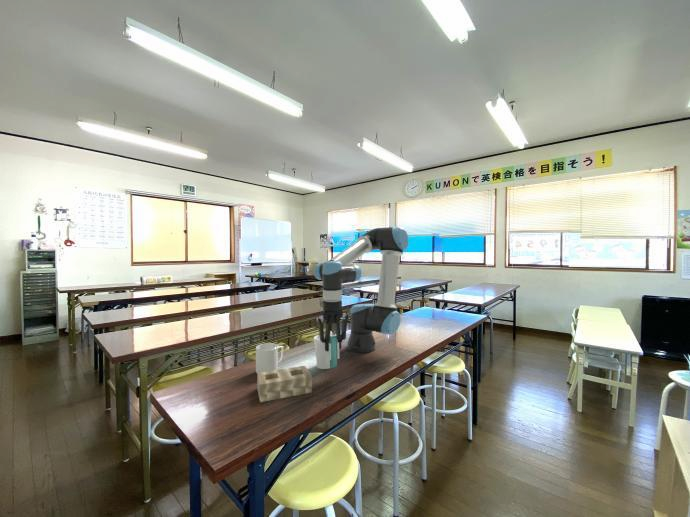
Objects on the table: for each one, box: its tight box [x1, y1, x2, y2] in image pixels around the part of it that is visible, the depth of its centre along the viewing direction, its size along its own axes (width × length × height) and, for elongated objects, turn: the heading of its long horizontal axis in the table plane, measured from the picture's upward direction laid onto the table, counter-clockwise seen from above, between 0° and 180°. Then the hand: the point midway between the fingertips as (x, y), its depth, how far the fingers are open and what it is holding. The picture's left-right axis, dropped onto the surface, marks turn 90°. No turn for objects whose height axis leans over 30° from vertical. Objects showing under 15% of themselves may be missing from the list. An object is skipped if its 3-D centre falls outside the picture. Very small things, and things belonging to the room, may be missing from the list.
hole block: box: [256, 365, 313, 403], centre depth 103 cm, size 18×10×6 cm, turn 112°
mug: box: [255, 342, 285, 374], centre depth 119 cm, size 12×9×11 cm
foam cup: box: [313, 333, 334, 370], centre depth 125 cm, size 10×9×13 cm
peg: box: [329, 335, 338, 369], centre depth 113 cm, size 3×3×12 cm
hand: (333, 357), depth 113 cm, fingers closed on peg, 3 cm apart
